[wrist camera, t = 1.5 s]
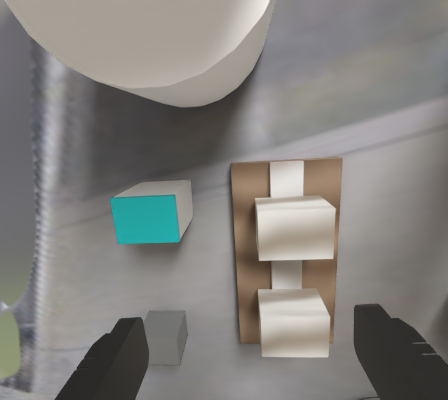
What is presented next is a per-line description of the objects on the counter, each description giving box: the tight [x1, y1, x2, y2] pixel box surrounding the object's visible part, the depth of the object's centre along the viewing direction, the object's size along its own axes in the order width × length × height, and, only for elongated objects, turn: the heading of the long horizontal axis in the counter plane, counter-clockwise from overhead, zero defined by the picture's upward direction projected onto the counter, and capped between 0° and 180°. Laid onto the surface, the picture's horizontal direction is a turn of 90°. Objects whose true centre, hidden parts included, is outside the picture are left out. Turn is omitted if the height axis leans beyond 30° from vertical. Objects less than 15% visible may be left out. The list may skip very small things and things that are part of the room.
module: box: [110, 180, 194, 244], centre depth 28 cm, size 4×6×8 cm
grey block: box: [143, 311, 188, 365], centre depth 34 cm, size 4×5×5 cm
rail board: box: [231, 157, 342, 357], centre depth 29 cm, size 24×12×7 cm, turn 4°
